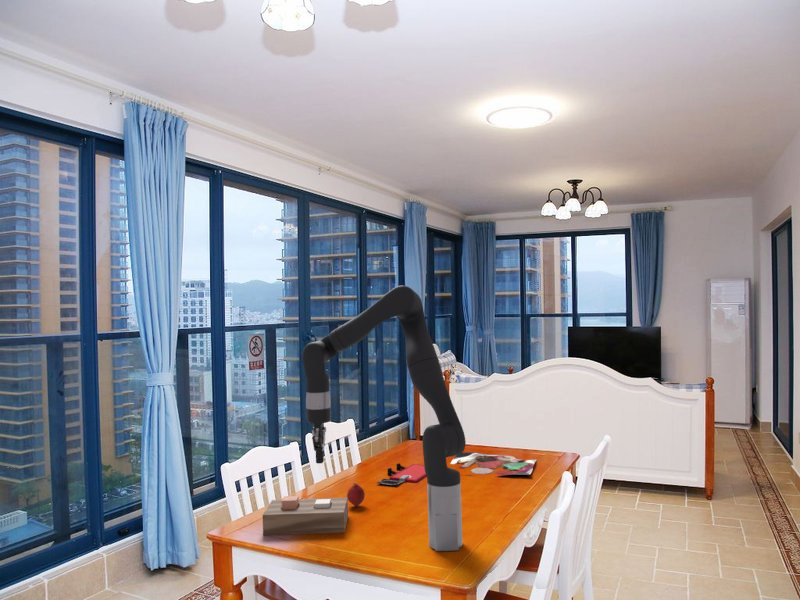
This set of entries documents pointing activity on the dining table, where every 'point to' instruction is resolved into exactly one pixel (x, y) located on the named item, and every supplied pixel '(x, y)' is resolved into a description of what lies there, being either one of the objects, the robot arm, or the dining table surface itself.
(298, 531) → the wooden button box
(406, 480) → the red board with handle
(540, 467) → the dining table surface
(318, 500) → the white cube
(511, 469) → the multicolored flat sheet
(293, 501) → the key terracotta
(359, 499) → the onion
